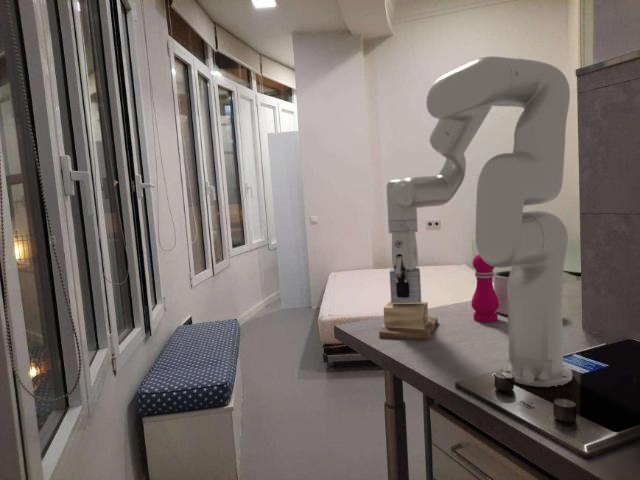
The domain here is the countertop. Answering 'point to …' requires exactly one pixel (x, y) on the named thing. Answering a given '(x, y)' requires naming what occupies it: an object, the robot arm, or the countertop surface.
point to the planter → (502, 291)
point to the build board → (409, 331)
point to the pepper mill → (484, 292)
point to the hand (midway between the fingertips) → (405, 294)
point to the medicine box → (413, 287)
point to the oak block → (406, 314)
